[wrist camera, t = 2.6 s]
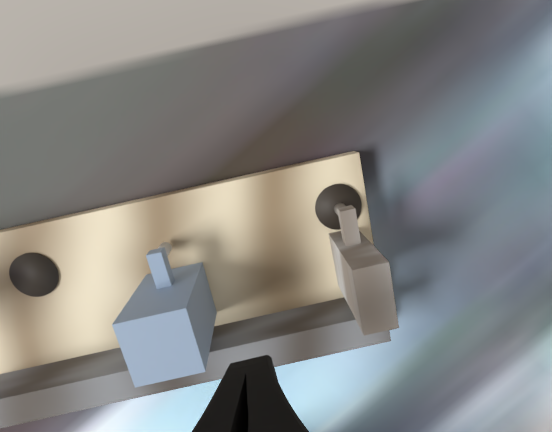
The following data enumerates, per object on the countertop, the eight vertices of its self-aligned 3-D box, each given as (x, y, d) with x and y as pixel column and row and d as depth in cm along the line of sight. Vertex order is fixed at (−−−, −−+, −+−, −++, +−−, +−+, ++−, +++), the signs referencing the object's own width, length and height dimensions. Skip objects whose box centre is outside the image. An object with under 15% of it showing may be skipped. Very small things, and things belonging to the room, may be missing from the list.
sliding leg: (193, 231, 20) (173, 269, 15) (216, 312, 21) (205, 371, 16) (136, 244, 20) (97, 286, 15) (162, 324, 21) (134, 387, 16)
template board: (353, 150, 20) (394, 164, 14) (381, 318, 23) (425, 387, 17) (-57, 242, 20) (-184, 293, 14) (17, 399, 23) (-66, 497, 17)
